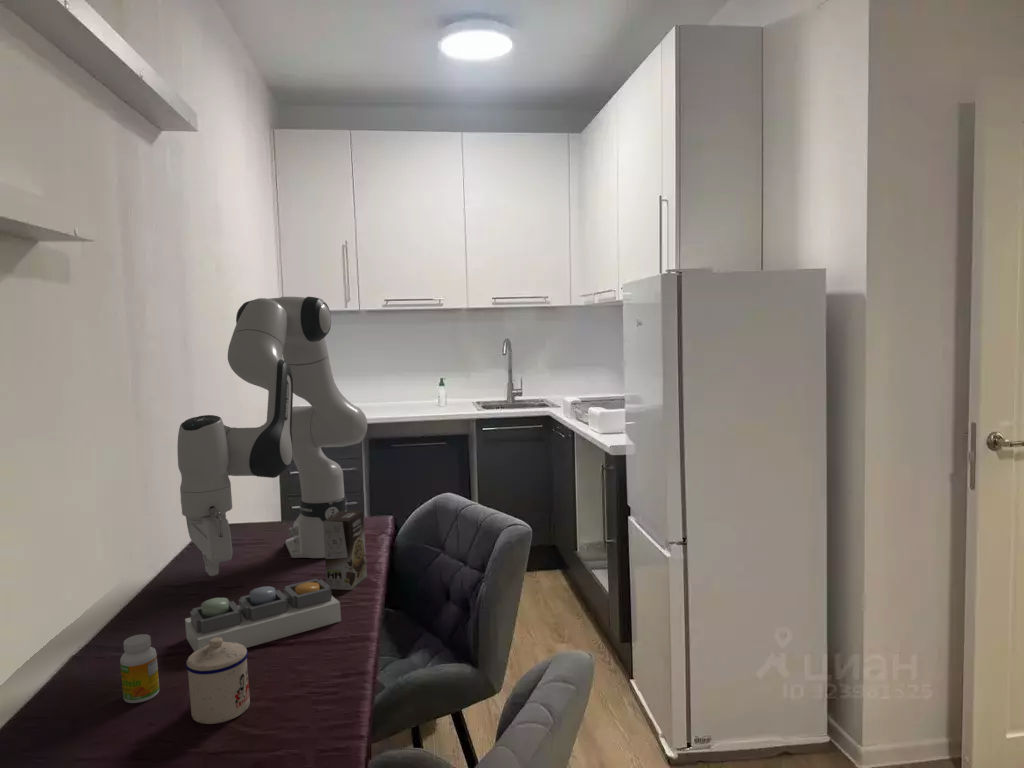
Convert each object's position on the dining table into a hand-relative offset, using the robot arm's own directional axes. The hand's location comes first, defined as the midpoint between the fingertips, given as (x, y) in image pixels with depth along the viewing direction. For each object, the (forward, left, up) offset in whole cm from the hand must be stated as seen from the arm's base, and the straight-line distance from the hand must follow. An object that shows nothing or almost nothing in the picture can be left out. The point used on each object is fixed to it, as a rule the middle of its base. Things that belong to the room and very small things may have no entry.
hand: (212, 573), depth 138 cm
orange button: (0, +18, -9) cm, 20 cm away
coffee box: (-14, +32, -14) cm, 38 cm away
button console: (0, +9, -14) cm, 16 cm away
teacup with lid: (+25, -5, -14) cm, 29 cm away
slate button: (0, +9, -8) cm, 12 cm away
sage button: (0, 0, -8) cm, 8 cm away
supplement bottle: (+13, -15, -14) cm, 24 cm away
